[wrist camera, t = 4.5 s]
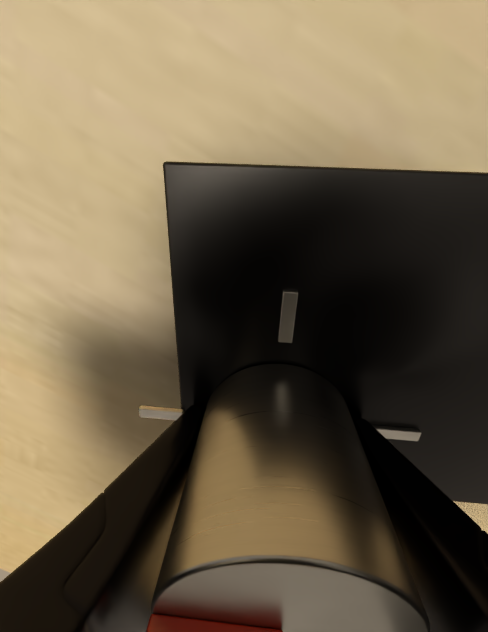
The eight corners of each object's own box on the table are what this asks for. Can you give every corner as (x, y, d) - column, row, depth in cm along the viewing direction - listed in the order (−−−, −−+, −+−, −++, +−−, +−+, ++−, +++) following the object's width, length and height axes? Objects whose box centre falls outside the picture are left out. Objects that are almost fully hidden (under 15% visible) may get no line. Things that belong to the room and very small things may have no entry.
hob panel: (604, 186, 8) (799, 182, 5) (461, 458, 13) (519, 537, 10) (154, 170, 9) (98, 158, 6) (177, 433, 13) (152, 499, 10)
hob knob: (363, 369, 7) (502, 618, 3) (334, 476, 9) (395, 729, 5) (204, 356, 8) (121, 573, 3) (206, 463, 9) (155, 695, 5)
